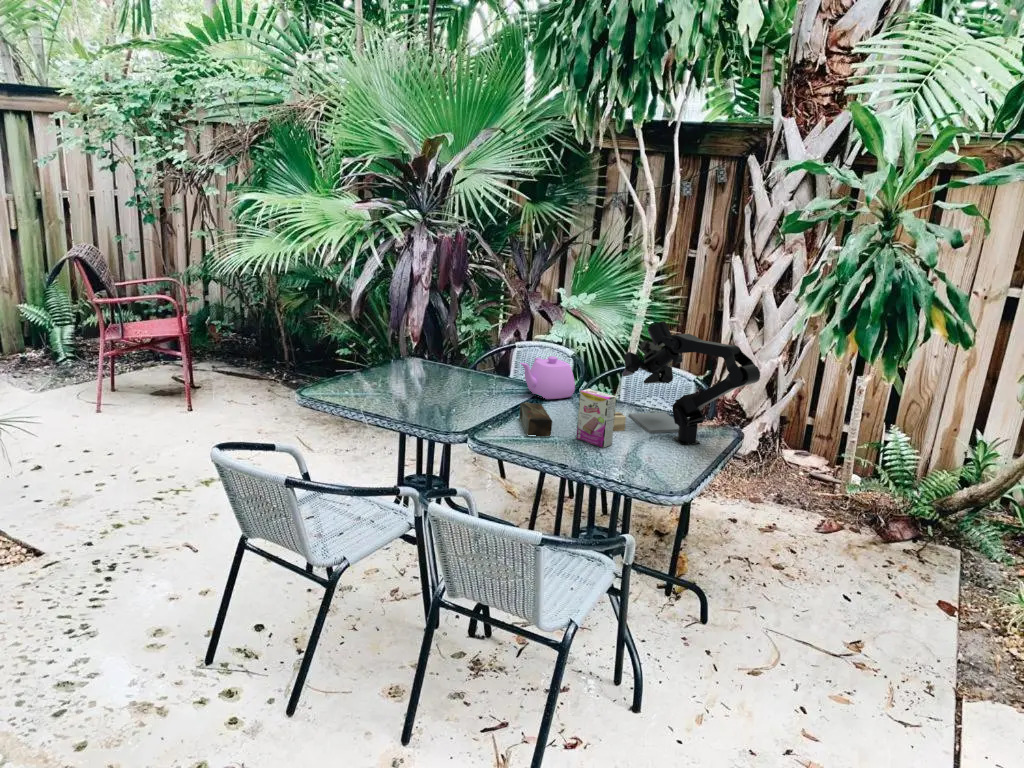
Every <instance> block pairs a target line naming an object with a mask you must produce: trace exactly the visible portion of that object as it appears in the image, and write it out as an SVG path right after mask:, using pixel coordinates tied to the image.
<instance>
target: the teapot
mask: <svg viewBox="0 0 1024 768" xmlns="http://www.w3.org/2000/svg"><path fill="white" fill-rule="evenodd" d="M519 365H521V366H522V367H523V369H524V370H523V371H524V380H525V382H526V384H527V385H526V386H527V387H528V390H529V392H530V391H531V392H532V393H531V392H530V393H531V394H533V393H534V394H538V395H541V396H542V397H543V399H544V398H545V399H544V400H556V399H565V398H570V397H572V396H573V394H574V392H575V390H576V382H575V377H574V373H573V370H572V367H571V365H570V364H569V363H568V362H566V361H564V360H561V359H558V357H557V356H556V355H555V356H553V355H551V356H547V358H541V357H536V358H534V363H533V364H532V365H531V367H530V365H529V364H528V363H526V362H519ZM534 394H533V395H534ZM542 397H541V398H542Z"/></svg>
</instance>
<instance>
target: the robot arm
mask: <svg viewBox="0 0 1024 768" xmlns="http://www.w3.org/2000/svg"><path fill="white" fill-rule="evenodd" d="M647 332H648V335H649V336H650V338H651V340H652V342H651V341H649V340H643V341H642V342H641V343H640V344H639V347H640V350H641V351H643V353H644V355H643V360H644V361H640V356H639V354H638V353H637V354H636V353H634V352H631V351H628V352H627V353H625V354H624V357H623V358H624V370H623V372H622V377H623V378H624V377H627V376H630V375H633V374H635V373H636V372H638V371H639V369H640V370H643V371H645V372H647V373H649V374H650V375H649V376H647V377H646V378H645V379H644V380H643V384H644V385H645V384H646V385H647V384H670V383H671V382H673V380H674V374H673V367H672V366H670V364H672V362H673V363H674V364H682V363H683V360H684V359H683V354H686V353H688V354H689V353H695V354H696V353H698V354H702V355H706V356H707V355H708V356H713V357H718V358H723V360H724V361H725V367H726V370H727V372H728V374H727V375H726V377H725V378H724V379H722V380H721V381H719V382H717V383H715V384H714V385H712V386H710V387H708V388H707V389H705V390H703V391H702V392H700V393H698V394H697V393H696V392H693V393H688V394H684V395H683V396H680V398H678V399H674V401H675V402H674V403H672V408H671V409H672V414H673V415H672V416H673V419H674V421H675V424H678V426H679V431H678V432H677V436H673V439H674V440H675V441H676V442H677V443H679V444H680V445H700V444H701V442H700V441H699V440H698V439H697V434H698V425H699V424H704V421H705V416H704V414H703V412H702V411H703V409H704V407H705V406H706V405H709V404H710V403H712V402H714V401H715V400H718V399H719V398H721V397H723V396H724V395H726V394H728V393H730V392H732V391H734V390H735V389H738V388H743V387H745V386H749V385H753V384H756V383H758V382H759V381H760V380H761V372H760V369H759V368H758V366H756V364H755V363H754V361H753V360H752V359H751V358H750V357H749V356H747V354H745V353H744V352H743V351H742V349H741V348H740V347H739V346H738V345H736V344H726V343H720V342H715V341H709V340H704V339H700V338H699V337H698V336H696V335H693V334H691V333H682V334H672V333H671V331H670V329H669V327H668V324H667V322H666V321H665V320H664V321H662V320H661V321H660V322H659V323H655V324H654V325H651V326H649V327H648V328H647ZM737 363H738V364H737Z"/></svg>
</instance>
